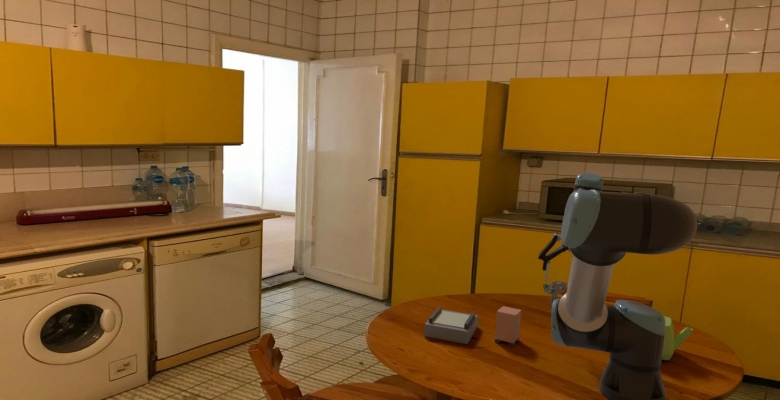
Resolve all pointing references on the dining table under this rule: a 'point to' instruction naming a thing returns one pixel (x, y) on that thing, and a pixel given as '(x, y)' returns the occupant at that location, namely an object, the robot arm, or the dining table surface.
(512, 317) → the block
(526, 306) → the dining table surface
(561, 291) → the mechanical component
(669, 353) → the teapot
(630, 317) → the robot arm
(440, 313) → the step
